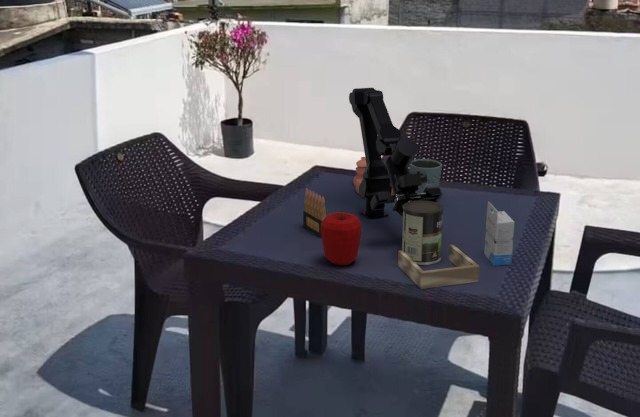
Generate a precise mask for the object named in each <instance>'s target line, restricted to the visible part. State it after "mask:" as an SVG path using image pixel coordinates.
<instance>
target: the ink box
mask: <svg viewBox="0 0 640 417" xmlns="http://www.w3.org/2000/svg"><path fill="white" fill-rule="evenodd" d="M515 223H516V222H515V221H514V220H513V218H512V217H511V216H509V214H507V212H506V211H505V210H502V211H501V210H500V211H498V210H497V208H495V206H494V205H493V203H491V202H490V201H489V200H488V201H487V210H486V222H485V236H484V237H485V239H484V253H483V254H484V256H485V257H486V258H487V259H488V260H489V262H490V263H491V265H492V266H495V267H497V266H512V261H513V260H512V259H513V249H514V248H513V247H514V233H515Z"/></svg>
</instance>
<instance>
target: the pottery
mask: <svg viewBox="0 0 640 417" xmlns="http://www.w3.org/2000/svg"><path fill="white" fill-rule="evenodd" d="M355 165H356V167H355V173H356V174H355V176H354V178H353V181H352V182H353V185H354V187H355V192H356V193H357V194H358V195H360V194H359V185H360V183H361V181H362V180H363V173H364V170H365V168H366V158H365V156H361V157H360V160H357V161H356V163H355ZM392 195H394V193H393V189H392V192H391V196H392ZM363 199H364V200H365V198H363Z"/></svg>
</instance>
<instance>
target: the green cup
mask: <svg viewBox="0 0 640 417" xmlns="http://www.w3.org/2000/svg"><path fill="white" fill-rule="evenodd" d="M442 168H443V164H442V163H441V162H440V161H438V160H436V159H427V158H426V159H425V158H422V159H421V158H420V159H413V160H412V162H411V164H410V165H409V171H410V173H412V174H417V172H418V171H422V170H425V172H426V174H427V182H425V183H422V186H418V188H419V189H418V190H417V191H415V192H416V193H423V191H424V190H425V188H427V187H439V188H440V181H441V180H440V179H441V174H442Z"/></svg>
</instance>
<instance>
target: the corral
mask: <svg viewBox="0 0 640 417" xmlns="http://www.w3.org/2000/svg"><path fill="white" fill-rule="evenodd" d="M397 253H398V254H397V266H398V267H399V268H400V270H402V271H403V272H404V273H405V274H406V275H407V276H408V277H409V278H410V279H411V281H412V282H414V284H415V285H417V286H418V288H419V289H421V290H425V289H431V288H438V287H439V288H440V287H446V286H454V285H462V284H470V283H479V280H480V267H481V266H480V265H479V264H478V263H476V262H475V261H474V260H472V258H470V257H469V256H468V255H466V254H465V253H464V252H463V251H461V249H459V248H458V247H457V246H455V245H454V244H449V245H448V260H449V261H450V262H451V263H453V265H455V266H454V267H453V266H452V267H446V268H438V269H430V270H423V269H422V268H421V267H420V265H417V264H416V263H415V262H414V261H413V260H412V259H411V258H410V257H408V256H407V255H406V254H405V253H404V252H403V251H402V249H401V250H398V252H397Z"/></svg>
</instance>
